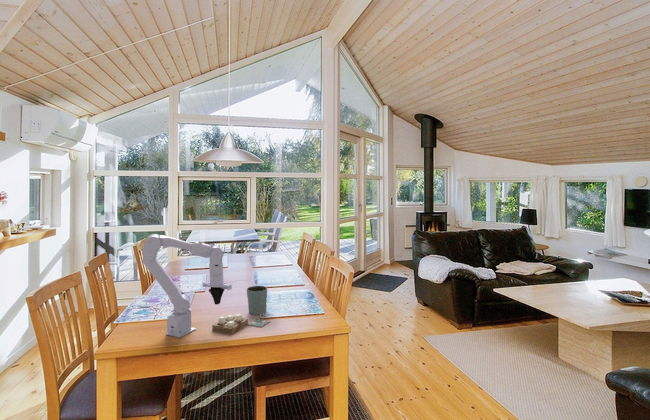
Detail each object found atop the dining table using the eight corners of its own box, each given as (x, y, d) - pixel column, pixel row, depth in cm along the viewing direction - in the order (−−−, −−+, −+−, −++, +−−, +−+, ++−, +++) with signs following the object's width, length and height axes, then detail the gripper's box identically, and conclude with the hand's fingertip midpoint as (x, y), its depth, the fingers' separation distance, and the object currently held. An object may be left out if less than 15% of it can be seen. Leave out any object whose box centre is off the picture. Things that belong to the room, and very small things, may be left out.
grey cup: (263, 316, 172) (262, 292, 171) (243, 314, 174) (243, 290, 173) (270, 309, 182) (270, 286, 181) (251, 307, 184) (251, 284, 183)
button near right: (231, 330, 154) (231, 323, 153) (226, 329, 155) (226, 322, 154) (235, 328, 156) (235, 321, 156) (230, 327, 157) (230, 320, 157)
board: (231, 334, 152) (231, 328, 151) (212, 330, 155) (212, 325, 155) (247, 324, 163) (247, 319, 162) (229, 320, 166) (229, 315, 166)
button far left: (230, 324, 161) (230, 317, 160) (225, 323, 162) (225, 316, 161) (234, 322, 163) (234, 315, 163) (229, 321, 164) (229, 314, 164)
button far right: (239, 323, 159) (239, 316, 158) (234, 322, 160) (234, 315, 160) (243, 320, 161) (243, 314, 161) (238, 319, 162) (238, 313, 162)
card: (261, 327, 159) (261, 326, 159) (248, 324, 162) (248, 323, 162) (269, 321, 166) (269, 320, 166) (256, 319, 168) (256, 318, 168)
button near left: (222, 325, 155) (222, 319, 155) (217, 324, 156) (217, 318, 156) (226, 323, 158) (226, 317, 158) (221, 322, 159) (221, 316, 159)
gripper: (235, 272, 159) (236, 302, 160) (209, 270, 164) (210, 299, 165) (225, 276, 152) (226, 308, 153) (198, 273, 158) (199, 303, 159)
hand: (217, 303), depth 159 cm, fingers closed
